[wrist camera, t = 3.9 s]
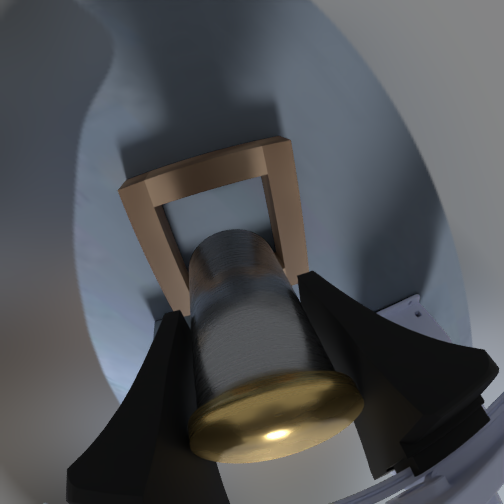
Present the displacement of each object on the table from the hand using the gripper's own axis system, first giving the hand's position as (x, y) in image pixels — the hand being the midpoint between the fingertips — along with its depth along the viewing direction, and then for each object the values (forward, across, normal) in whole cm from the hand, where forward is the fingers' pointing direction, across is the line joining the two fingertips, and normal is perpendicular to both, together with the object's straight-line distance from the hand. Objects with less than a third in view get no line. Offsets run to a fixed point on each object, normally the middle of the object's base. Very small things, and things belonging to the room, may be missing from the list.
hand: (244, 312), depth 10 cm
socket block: (+8, 0, 0) cm, 8 cm away
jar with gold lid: (+3, 0, 0) cm, 3 cm away
